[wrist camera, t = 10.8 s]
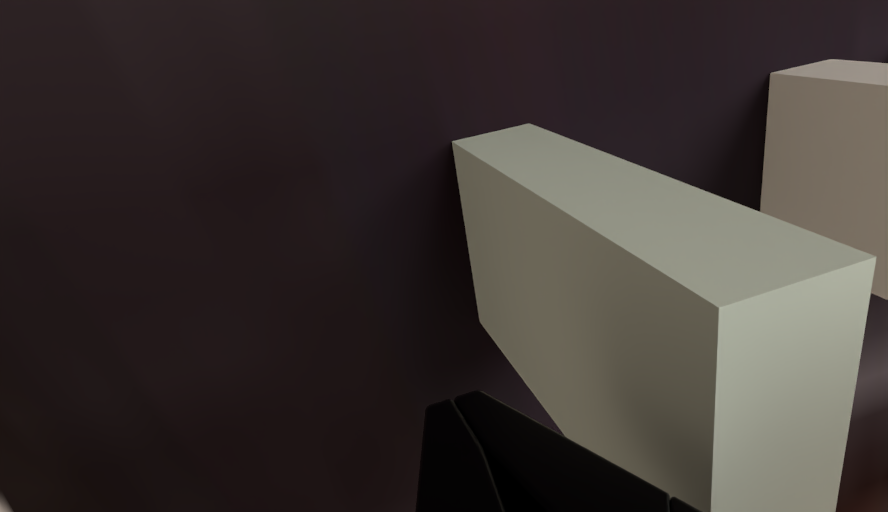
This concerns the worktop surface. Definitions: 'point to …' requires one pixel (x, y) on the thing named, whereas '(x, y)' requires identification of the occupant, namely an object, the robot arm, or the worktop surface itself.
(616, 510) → the robot arm
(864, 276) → the domino
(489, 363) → the worktop surface
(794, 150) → the domino
